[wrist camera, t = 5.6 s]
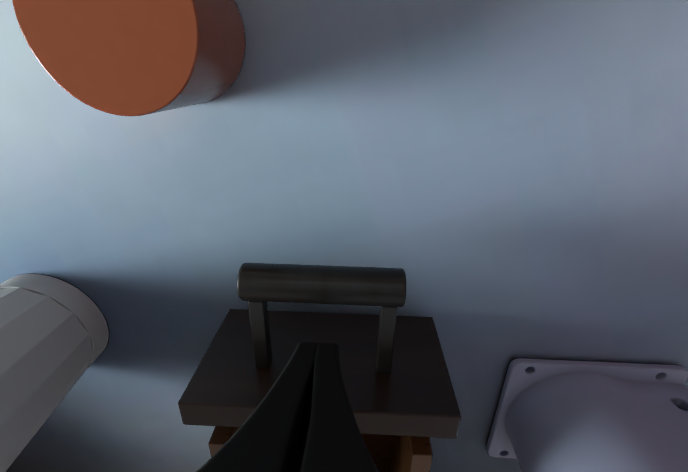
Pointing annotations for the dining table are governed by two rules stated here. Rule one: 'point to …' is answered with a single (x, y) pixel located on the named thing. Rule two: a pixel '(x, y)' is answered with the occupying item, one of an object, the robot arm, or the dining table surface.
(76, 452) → the dining table surface
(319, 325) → the drawer
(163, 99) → the orange cylinder puck
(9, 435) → the cup
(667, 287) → the dining table surface
